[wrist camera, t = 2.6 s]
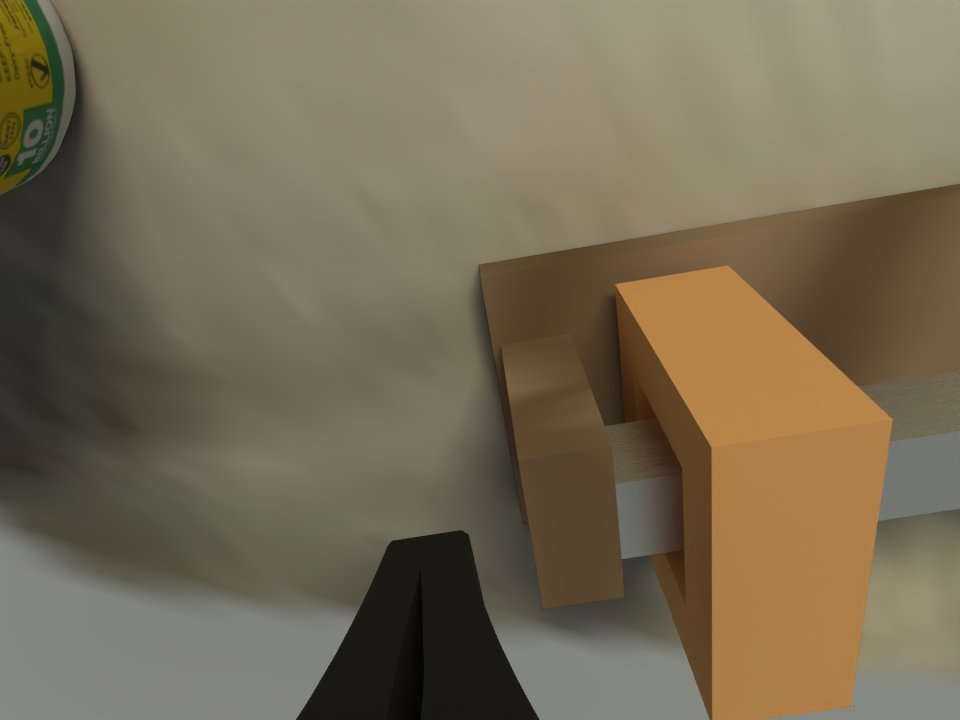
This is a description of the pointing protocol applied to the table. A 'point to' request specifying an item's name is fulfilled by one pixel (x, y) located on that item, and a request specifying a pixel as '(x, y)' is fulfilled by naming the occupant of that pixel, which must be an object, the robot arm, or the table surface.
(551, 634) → the table surface
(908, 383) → the rod
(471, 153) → the table surface
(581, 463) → the stand
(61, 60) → the supplement bottle
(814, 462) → the collar
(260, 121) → the table surface
